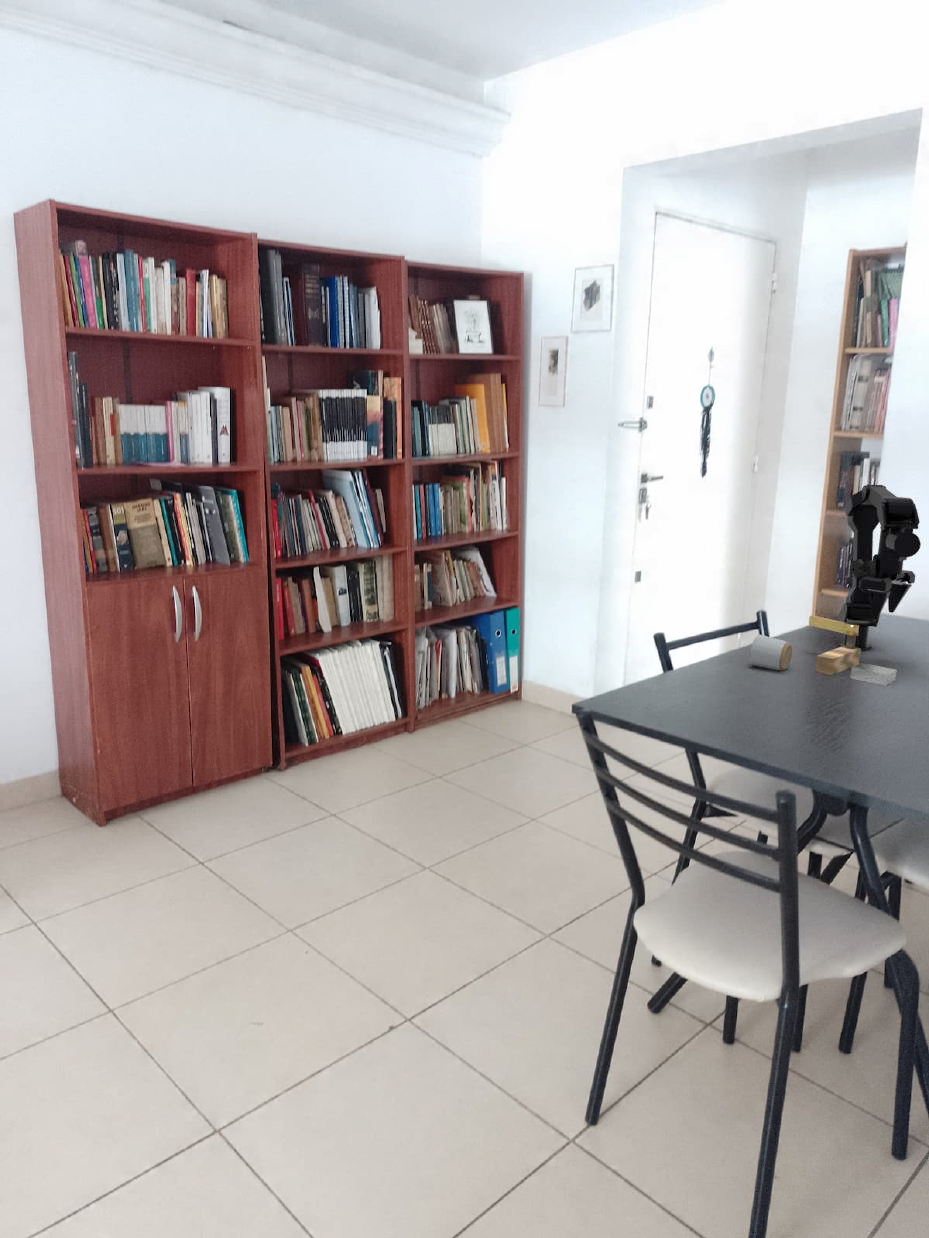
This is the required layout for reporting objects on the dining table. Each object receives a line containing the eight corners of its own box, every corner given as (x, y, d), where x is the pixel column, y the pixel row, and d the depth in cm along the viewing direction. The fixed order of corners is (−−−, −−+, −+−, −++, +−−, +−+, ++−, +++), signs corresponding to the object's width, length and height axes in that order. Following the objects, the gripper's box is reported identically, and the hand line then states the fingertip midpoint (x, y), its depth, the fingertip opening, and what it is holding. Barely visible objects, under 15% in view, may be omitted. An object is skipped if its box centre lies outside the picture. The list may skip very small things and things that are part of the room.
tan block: (843, 660, 229) (846, 632, 227) (859, 664, 226) (862, 635, 224) (815, 671, 219) (818, 642, 217) (831, 675, 216) (835, 645, 214)
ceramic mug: (781, 674, 216) (784, 642, 214) (747, 668, 221) (750, 636, 219) (796, 666, 224) (799, 635, 222) (763, 660, 229) (766, 630, 227)
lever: (860, 635, 224) (861, 625, 224) (853, 636, 223) (854, 626, 222) (813, 624, 235) (814, 615, 234) (806, 625, 233) (807, 616, 233)
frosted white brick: (895, 682, 212) (896, 669, 212) (885, 687, 208) (886, 674, 208) (860, 674, 218) (861, 662, 217) (850, 679, 214) (851, 667, 213)
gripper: (873, 543, 229) (866, 604, 233) (840, 550, 217) (833, 614, 220) (919, 549, 222) (911, 611, 225) (888, 556, 209) (880, 622, 212)
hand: (883, 614), depth 221 cm, fingers open, 9 cm apart
